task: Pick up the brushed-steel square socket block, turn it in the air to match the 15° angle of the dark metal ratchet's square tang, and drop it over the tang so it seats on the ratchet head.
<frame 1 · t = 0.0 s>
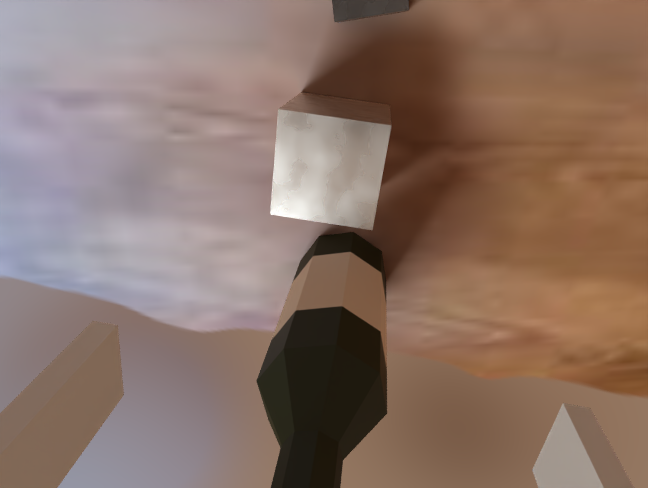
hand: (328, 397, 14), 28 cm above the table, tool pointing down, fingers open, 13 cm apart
socket: (339, 142, 39), on the table
wine bottle: (343, 270, 44), on the table
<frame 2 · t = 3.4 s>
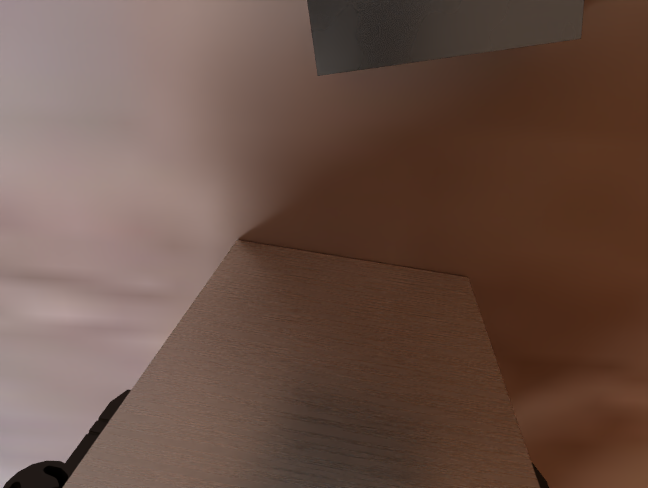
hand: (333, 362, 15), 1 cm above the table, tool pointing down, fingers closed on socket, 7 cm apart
socket: (335, 351, 16), on the table, touching gripper
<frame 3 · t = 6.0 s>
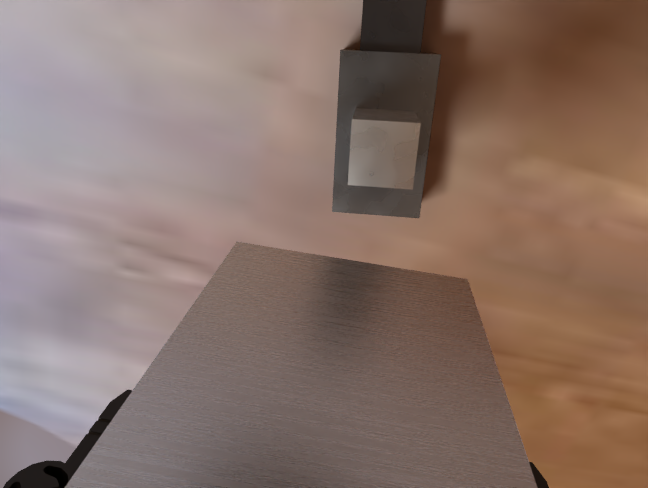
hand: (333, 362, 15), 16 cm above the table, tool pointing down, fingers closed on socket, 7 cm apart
socket: (335, 352, 16), point 16 cm above the table, touching gripper
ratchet: (382, 131, 28), on the table
when the fingers open (5 cm above the table, at t = 9.0 s): socket drops 2 cm, point 2 cm above the table.
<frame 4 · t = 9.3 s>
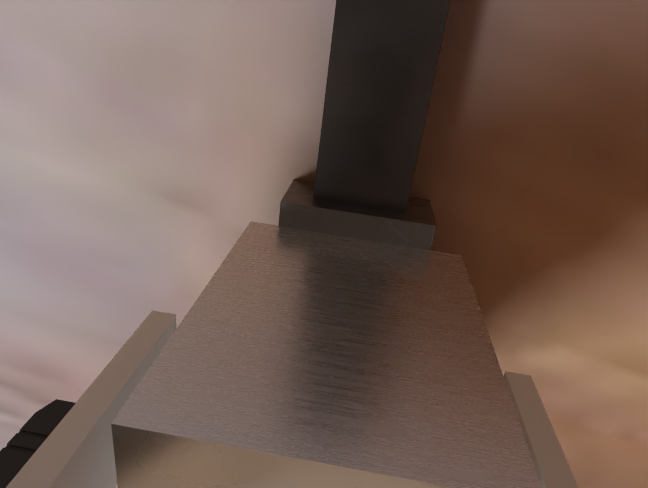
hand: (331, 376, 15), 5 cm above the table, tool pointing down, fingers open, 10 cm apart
socket: (340, 325, 17), point 2 cm above the table
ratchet: (344, 290, 19), on the table
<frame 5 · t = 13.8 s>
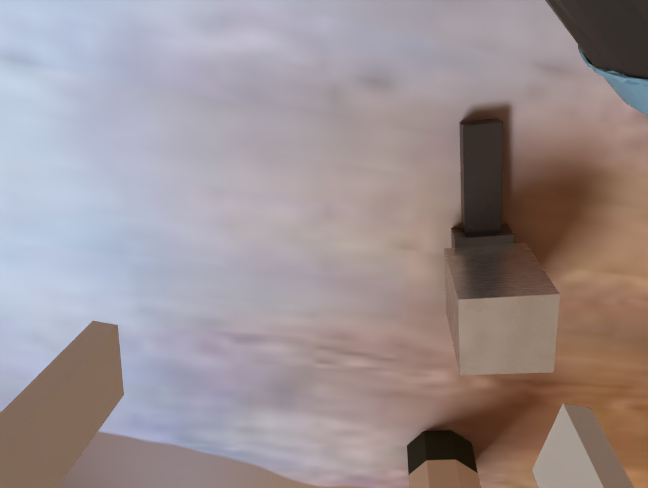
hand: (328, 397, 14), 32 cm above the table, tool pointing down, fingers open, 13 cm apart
socket: (484, 279, 44), point 2 cm above the table, touching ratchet
wine bottle: (439, 452, 57), on the table
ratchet: (479, 267, 46), on the table, touching socket
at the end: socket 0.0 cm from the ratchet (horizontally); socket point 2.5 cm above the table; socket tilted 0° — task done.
